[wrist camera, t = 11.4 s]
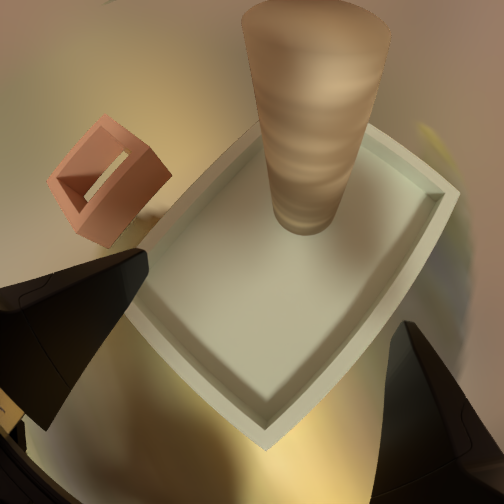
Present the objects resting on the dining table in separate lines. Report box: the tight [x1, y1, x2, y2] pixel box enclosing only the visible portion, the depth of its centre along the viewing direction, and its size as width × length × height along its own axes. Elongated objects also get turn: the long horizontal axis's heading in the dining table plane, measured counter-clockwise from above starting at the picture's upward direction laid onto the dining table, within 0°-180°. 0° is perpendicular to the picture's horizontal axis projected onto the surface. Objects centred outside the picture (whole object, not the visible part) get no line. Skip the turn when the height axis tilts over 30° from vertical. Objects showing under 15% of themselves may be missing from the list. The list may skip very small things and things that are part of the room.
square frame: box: [46, 114, 172, 249], centre depth 19 cm, size 8×8×4 cm
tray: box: [124, 121, 460, 451], centre depth 16 cm, size 20×14×2 cm
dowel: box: [241, 0, 391, 236], centre depth 11 cm, size 4×4×12 cm
